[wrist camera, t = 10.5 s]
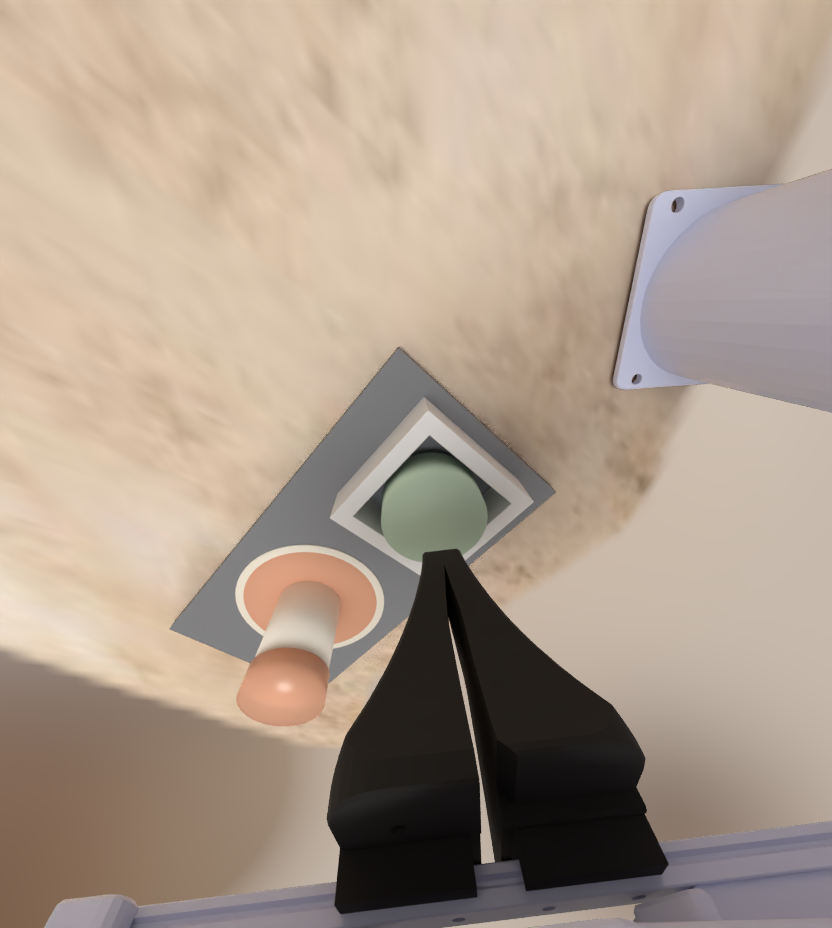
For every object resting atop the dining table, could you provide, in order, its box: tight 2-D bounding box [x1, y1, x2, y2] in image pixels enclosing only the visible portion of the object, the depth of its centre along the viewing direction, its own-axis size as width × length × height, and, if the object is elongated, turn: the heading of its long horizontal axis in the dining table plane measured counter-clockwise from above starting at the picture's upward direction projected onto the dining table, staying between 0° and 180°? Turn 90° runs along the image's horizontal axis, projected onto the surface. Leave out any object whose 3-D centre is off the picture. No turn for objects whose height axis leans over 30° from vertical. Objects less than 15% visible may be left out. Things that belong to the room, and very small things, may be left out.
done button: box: [381, 453, 488, 562], centre depth 16 cm, size 5×5×2 cm
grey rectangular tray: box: [170, 347, 556, 684], centre depth 20 cm, size 24×12×3 cm, turn 138°
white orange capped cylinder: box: [237, 581, 341, 726], centre depth 19 cm, size 4×4×6 cm
